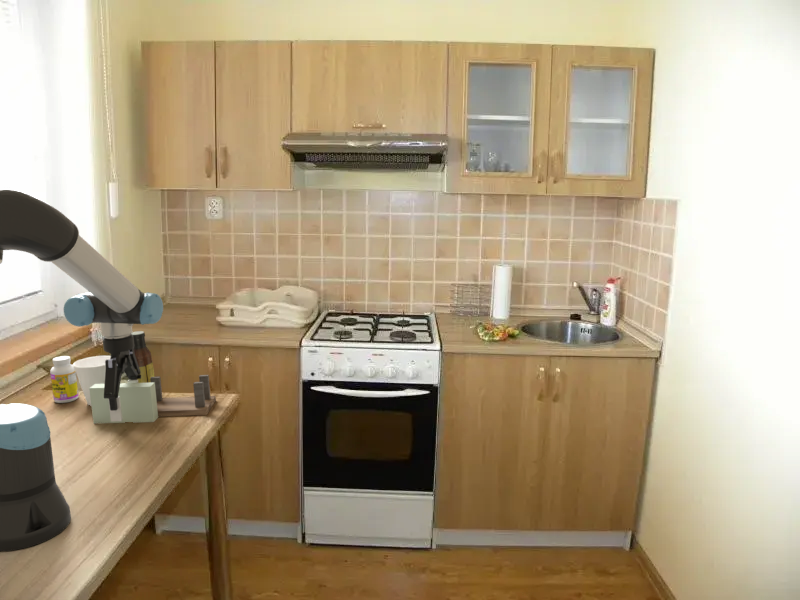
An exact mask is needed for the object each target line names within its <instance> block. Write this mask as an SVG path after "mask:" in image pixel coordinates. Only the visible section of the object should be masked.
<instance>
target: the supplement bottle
mask: <svg viewBox="0 0 800 600" xmlns="http://www.w3.org/2000/svg"><path fill="white" fill-rule="evenodd" d="M71 361H72V360H71V356H69V355H61V356H56V357H53V358H52V364H53V366H52V367H51V369H50V370H49V372H50V373H49V374H50V381H51V387H52V388H51V389H52V397H53V401H54V402H55V403H58V404H66V403H71V402H74V401H75V400H77V399H78V398H79V397H80V396H79V387H78V377H77V374H76V372H75V369H74V366H73V364H71Z"/></svg>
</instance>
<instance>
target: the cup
mask: <svg viewBox="0 0 800 600" xmlns="http://www.w3.org/2000/svg"><path fill="white" fill-rule="evenodd" d="M110 359H111V355H96V356H95V355H94V356H89V357H84V358H82V359H81V358H80V359H78V360H76V361H74V362H73V364H72V365H73V366H74V369H75V372H76V378H77V381H78V382H79V385H80V388H81V390H82V393H83V396H84V398H85V401H86V403H87V406H89V405H90V407H92V406H91V398H90V390H89V388H90V387H92V386H93V385H94V384H105V372H106V366H105V361H106V360H110Z"/></svg>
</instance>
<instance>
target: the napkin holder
mask: <svg viewBox="0 0 800 600" xmlns="http://www.w3.org/2000/svg"><path fill="white" fill-rule="evenodd" d="M150 379H151V382H155V390H156V400H157V410H158V417H179V416H180V417H181V416H205V415H206V416H207V415H208V413H209V412H210V411H211V409H212V407H213V406H214V404H215V403H216V402H217V399H216V398H217V397H216V395H211V387H210V386H211V385H210V376H209V374H200V375H199V376H198V381H195V382H193V385H192V386H193V395H194V396H175V397H173V396H172V397H169V396H168V397H163V389H162V380H161V376H155V377H151V378H150Z"/></svg>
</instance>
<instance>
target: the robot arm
mask: <svg viewBox="0 0 800 600" xmlns="http://www.w3.org/2000/svg"><path fill="white" fill-rule="evenodd" d="M12 250H14V251H21V252H25V253H28V254H32V255H33V256H34V257H36V258H37V259H38V260H40V261H43V262H46V263H52V264H53V265H55V266H56V267H57V268H58V269H60V270H61V271H62V272H64V273H65V274H66V275H67V276H69V277H70V278H71V279H72V280H74V281H75V282H76V283H77V284H79V285H80V286H81V287H83V288H84V289H85V290H87V291H86V292H83V293H78V294H76V295H74V296H71V297H69V298H68V299H66V301H65V302H64V305H63V315H64V317H65V319H66V321H68V323H69V324H71V325H73V326H74V327H84V326H89V325H91V324H100V332H101V336H102V347H103V351H104V352H105V353H109V354H110V356H111V359H110V360H106V361H105V366H106V372H105V385H104V399H106V398H108V401H109V409H110V417H111V422H114V421H122V420H123V419H122V410H121V401H120V396H119V397H118V394H119V388H120V383H121V382H122V381H121V380H122V375H123V374H124V373H125V375H126V376H127V378H128V380H126V383H138V380H137V379H141V375H140V373H141V371H140V368H139V365H138V362H137V359H136V357H135V354H134V338H133V335H132V334H131V333H132V332H134V331H133V326H134V325H142V326H143V325H149V324H151V325H153V324H157V323H158V322H159V321H161V318H162V316H163V312H164V304H163V300H162V297H161V296H160V295H159V294H158V293H153V292H143V291H141V290H140V289H139V288H138V287H137V286H135V284H134V283H132V281H131V280H129V278H127V277H126V276H125V275H124V274H122V272H120V270H118V269H117V268H116V267H115V266H114V265H113V264H112V263H111V262H109V261H108V260H107V259H106V258H105V257H104V256H103V255H102V254H100V253H99V251H97V250H96V248H94V247H93V246H92V245H91V244H89V243H88V242H87V241H86V240H85V239H84V238H83V237H81V235H80V230H79V228H78V226H77V225H76V224H75V223H74V222H73V221H72V220H71V219H70V218H68V217H67V216H66V215H65V214H64V213H63V212H62V211H59V210H58V209H57V208H56V207H54V206H52V205H51V204H49V203H48V202H46V201H45V200H43V199H41V198H39V197H37V196H35V195H32V194H30V193H28V192H25V191H23V190H18V189H14V188H8V187H7V188H5V187H4V188H0V264H2V263H3V256H4V251H12ZM54 465H55V464H54V457H53V448H52V438H51V429H50V426H49V423H48V419H47V415H46V414H45V412H44V411H43V410H42V409H41V408H40V407H37V406H34V405H32V404H27V403H19V402H18V403H15V402H13V403H11V402H10V403H9V404H5V403H1V404H0V552H5V551H6V552H7V551H17V550H21V549H26V548H30V547H33V546H37V545H38V544H41V543H44V542H46V541H49V540H50V539H52V538H54V537H55V536H57V535H59V534H60V533H62V532H63V531H64V530H65V529H66V528H67V527H68V526H69V525H70V523H71V520H72V516H71V508H70V505H69V503H68V501H67V500H66V498H65V496H64V494H63V493H62V490H61V489H60V487H59V486H58V483H57V482H56V474H55V466H54Z"/></svg>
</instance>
